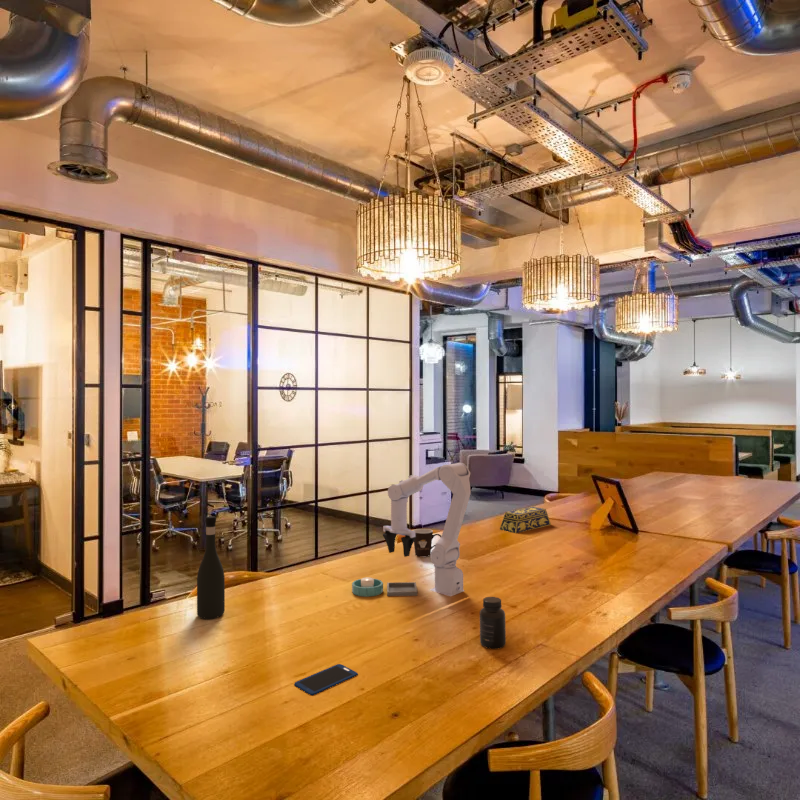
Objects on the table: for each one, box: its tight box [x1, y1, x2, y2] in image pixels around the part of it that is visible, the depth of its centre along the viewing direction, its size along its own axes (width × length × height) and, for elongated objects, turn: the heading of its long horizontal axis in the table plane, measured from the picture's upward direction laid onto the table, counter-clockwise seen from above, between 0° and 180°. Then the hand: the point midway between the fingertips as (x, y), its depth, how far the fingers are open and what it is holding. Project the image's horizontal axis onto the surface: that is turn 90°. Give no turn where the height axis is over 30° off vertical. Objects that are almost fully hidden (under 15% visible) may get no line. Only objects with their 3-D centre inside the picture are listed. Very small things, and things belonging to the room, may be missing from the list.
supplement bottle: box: [479, 596, 507, 650], centre depth 153 cm, size 7×7×12 cm
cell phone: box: [293, 663, 359, 696], centre depth 134 cm, size 7×14×1 cm, turn 135°
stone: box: [360, 577, 375, 588], centre depth 194 cm, size 4×4×4 cm
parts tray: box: [386, 581, 418, 597], centre depth 195 cm, size 10×10×2 cm
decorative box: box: [499, 506, 552, 534], centre depth 294 cm, size 11×30×9 cm, turn 131°
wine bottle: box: [196, 515, 226, 620], centre depth 174 cm, size 8×8×30 cm
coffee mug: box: [412, 528, 442, 557], centre depth 241 cm, size 12×9×10 cm
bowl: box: [351, 578, 384, 598], centre depth 194 cm, size 10×10×3 cm
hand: (399, 554), depth 208 cm, fingers open, 7 cm apart
